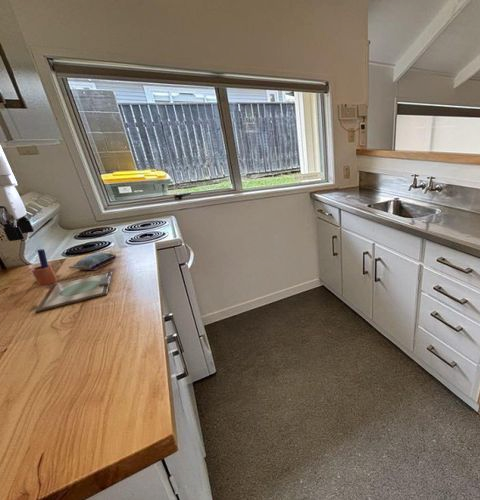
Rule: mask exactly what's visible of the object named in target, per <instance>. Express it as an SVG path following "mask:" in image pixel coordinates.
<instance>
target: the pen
mask: <svg viewBox="0 0 480 500" xmlns="http://www.w3.org/2000/svg"><path fill="white" fill-rule="evenodd" d="M36 252H37V255H38V260H39V262H40V266H41V268H42V269H43V268H46V267H48V265H49V264H48V259H47V256H46V255H47V254H46V250H45V249H44V248H41V249H37V251H36Z"/></svg>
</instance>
